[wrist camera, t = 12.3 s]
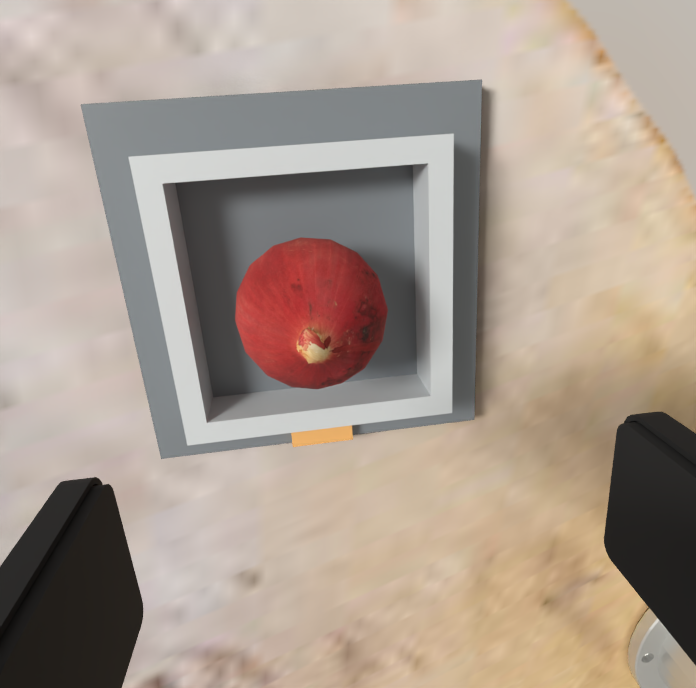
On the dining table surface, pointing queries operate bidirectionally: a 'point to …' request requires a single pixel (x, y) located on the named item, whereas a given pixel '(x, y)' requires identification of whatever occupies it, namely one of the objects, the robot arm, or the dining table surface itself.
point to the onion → (310, 313)
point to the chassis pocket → (288, 224)
